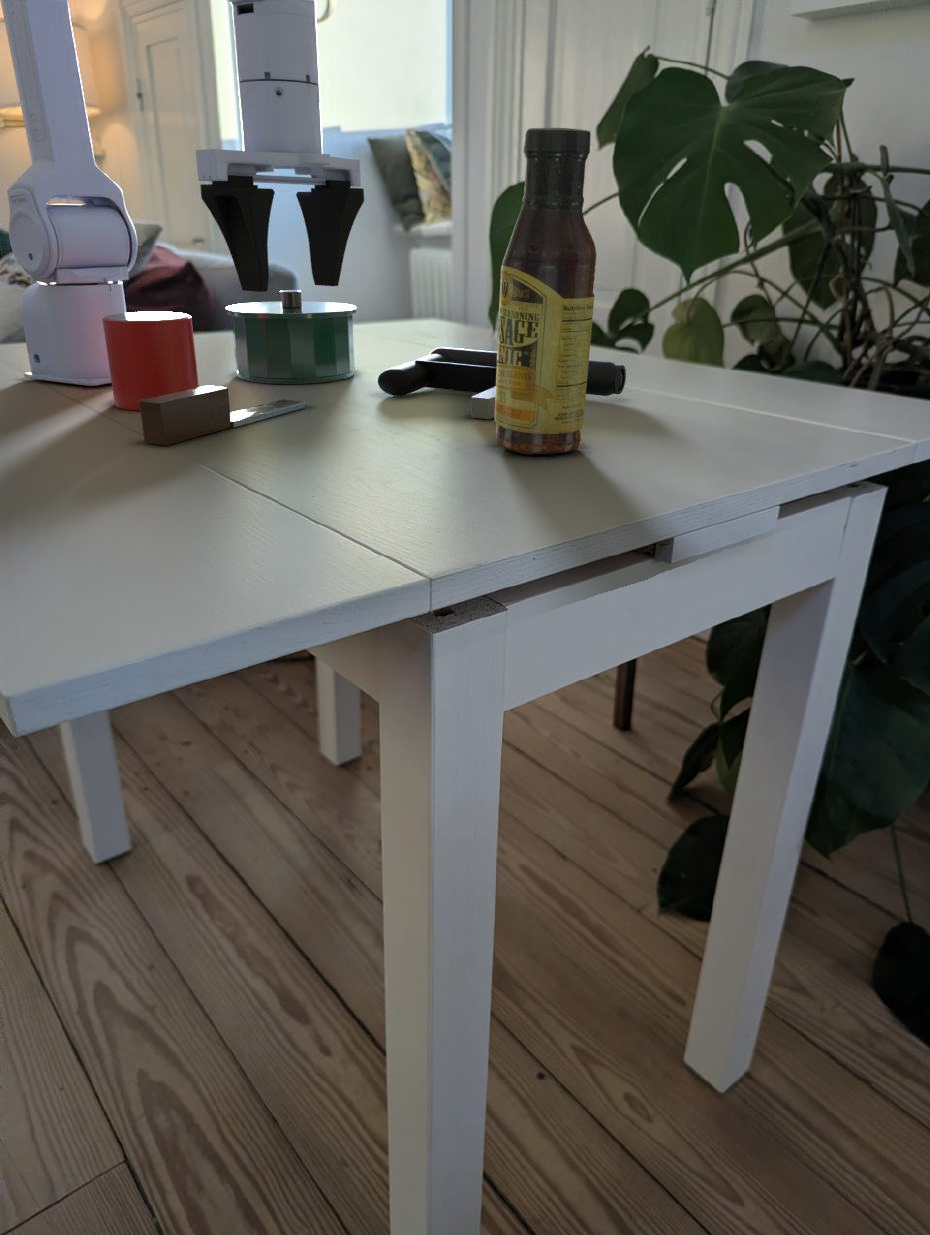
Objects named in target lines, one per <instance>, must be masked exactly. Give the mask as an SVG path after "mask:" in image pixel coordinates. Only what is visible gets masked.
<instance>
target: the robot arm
mask: <svg viewBox="0 0 930 1235" xmlns="http://www.w3.org/2000/svg"><path fill="white" fill-rule="evenodd" d="M68 2H69V1H68V0H0V5H1V10H2V15H3V21H4V25H5V31H6V36H7V41H8V46H9V47H8V48H9V51H10V57H11V62H12V68H13V72H14V77H15V82H16V89H17V92H18V97H19V103H20V108H21V109H20V110H21V113H22V119H23V124H24V129H25V135H26V138H27V139H26V140H27V145H28V149H29V154H30V159H31V165H30V166H28V168H26V170H25V171H24V172H23V173H22V174H21V175H20V176H19V177H18V178H17V179H15V181H14V182H12V183H11V185H10V186H9V187H8V189H7V190H6V194H7V198H8V204H9V206H8V207H9V223H8V238H9V244H10V247H11V250H12V253H13V256H14V258H15V259H16V261H17V262H18V264H19V266H20V267H21V268H22V269H23V270H24V272H25V273H27V275H29V276H30V279H31V282H34V283H32V284H31V285H29V286H28V287H27V288H26V289H25V291H24V293H23V294H22V297H21V301H20V317H21V318H20V319H21V322H22V328H23V332H24V333H23V334H24V339H25V345H26V350H27V356H28V361H29V367H30V372H25V373H23V377H24V378H25V379H30V380H39V381H40V380H41V381H47V382H55V383H62V384H71V385H79V386H87V387H96V386H97V387H98V386H101V385H108V384H112V381H111V375H110V368H109V361H108V354H107V347H106V340H105V333H104V327H103V320H102V319H103V318H104V317H105V316H108V315H112V314H120V313H127V306H126V299H125V292H124V284H123V281H128V280H130V276H129V272H130V271H132V269H133V268H134V266H135V263H136V260H137V256H138V246H139V245H138V237H137V236H138V235H137V232H136V229H135V226H134V223H133V222H132V219H131V218H130V215H129V214H128V210H127V208H126V204H125V198H124V191H123V189H122V188H121V187H120V186H119V185H118V184H117V183H116V182H115V181H113V179H112V178H110V177H109V176H108V175H107V174H106V173H105V172H103V170H102V169H101V168H99V166H98V165H97V164H96V161H95V155H94V149H93V143H92V142H93V141H92V136H91V131H90V126H89V125H90V124H89V119H88V113H87V107H86V102H85V95H84V90H83V83H82V78H81V72H80V66H79V60H78V56H77V55H78V54H77V50H76V42H75V38H74V31H73V26H72V21H71V13H70V8H69V3H68ZM227 2H228V3H229V4H230V5H231V11H232V22H233V33H234V47H235V60H236V72H237V73H236V74H237V83H238V84H237V86H238V87H237V88H238V97H239V111H240V123H241V134H242V135H241V136H242V150H236V149H220V148H219V149H218V148H209V149H208V148H205V149H195V159H196V160H195V161H196V169H197V178H198V182H211V183H207V184H206V183H203V184H199V187H200V197H201V200H202V201H203V203H204V204H205V206H206V207H207V209H208V211H209V213H210V214H211V216H212V217H213V219H214V221H215V223H216V225H217V226H218V228H219V230H220V232H221V234H222V237H223V238H224V241H225V243H226V245H227V249H228V251H229V254H230V256H231V258H232V262H233V264H234V268H235V271H236V275H237V277H238V280H239V283H240V287H241V290H242V291H244V292H254V293H255V292H256V293H263V292H264V293H265V292H268V288H269V280H270V279H269V278H270V277H269V276H270V274H269V273H270V272H269V269H270V268H269V249H268V248H269V246H268V243H269V227H270V219H271V212H272V206H273V202H274V198H275V194H276V192H275V190H274V189H273V188H266V187H265V188H263V187H259V185H258V184H259V183H260V184H279V185H281V184H282V185H301V186H302V185H306V186H314V187H311V188H310V191H297V192H296V194H295V197H296V199H297V202H298V205H299V207H300V210H301V214H302V217H303V221H304V225H305V229H306V233H307V240H308V247H309V248H308V249H309V258H310V260H309V261H310V268H311V275H312V279H313V283H314V286H321V287H323V286H324V287H339V283H340V279H341V273H342V268H343V262H344V258H345V252H346V248H347V244H348V240H349V237H350V234H351V230H352V228H353V225H354V223H355V221H356V218H357V216H358V214H359V212H360V209H361V208H362V206H363V204H364V202H365V189H364V188H362V187H361V186H362V184H361V182H362V181H361V160H360V159H356V158H355V159H353V158H346V157H345V158H344V157H339V156H332V155H331V154H329V153H324V152H323V132H322V131H323V129H322V111H321V110H322V108H321V91H320V90H321V89H320V88H321V87H320V85H321V84H320V67H319V66H320V65H319V46H318V43H319V42H318V26H317V25H318V24H317V6H316V5H317V2H316V0H227ZM275 170H294V175H296V176H291V175H288V176H287V175H285V176H284V175H271V174H270V175H267V174H258V173H274V172H275ZM306 176H307V177H306ZM309 176H310V177H309ZM254 183H256V184H254ZM51 200H70V201H71V200H73V201H75V200H76V201H79V202H81V203H82V204H81V203H80V204H78V203H77V204H76V203H49V202H50V201H51Z"/></svg>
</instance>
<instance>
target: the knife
mask: <svg viewBox="0 0 930 1235" xmlns="http://www.w3.org/2000/svg"><path fill="white" fill-rule="evenodd" d="M229 394H230V393H229V388H228V387H224V386H215V385H204V386H199V388H194V389H190V390H185V391H180V392H176V393H171V394H166V395H162V396H157V397H153V398H148V399H143V400H140V401H139V404H140V417H141V418H140V419H141V426H142V433H143V439H144V440H143V441H144V444H149V445H150V444H151V445H157V446H164V447H166V446H171V445H173V444H177V443H181V442H183V441H184V442H185V441H188V440H191V439H195V438H199V437H203V436H206V435H209V434H213V433H217V432H221V431H224V430H227V429H231V428H238V427H241V426H245V425H249V424H253V423H256V422H259V421H260V422H261V421H263V420H266V419H270V418H274V417H277V416H281V415H284V414H288V413H293V412H295V411H299V410H302V409H303V410H304V409H305V408H306V402H305V401H299V400H291V399H278V400H274V401H270V402H267V403H263V404H259V405H256V406H255V405H254V406H251V407H248V408H244V409H240V410H236V411H231V405H230V396H229Z"/></svg>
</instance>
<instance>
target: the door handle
mask: <svg viewBox="0 0 930 1235" xmlns="http://www.w3.org/2000/svg"><path fill="white" fill-rule="evenodd" d="M626 370H627V369H626V366H625V365H624V364H617V363H615V362H613V361H608V360H607V361H606V360H596V359H589V364H588V375H587V387H586V395H591V396H601V397H609V396H612V395H621V394H622V392H623V391H624V389H625V386H626V380H627V371H626ZM496 375H497V351H492V350H491V351H490V350H480V349H479V350H478V349H467V348H457V347H446V346H445V347H444V346H440V347H435V348H433V350H431V351H430V352H429V353H428V355H426V356H423V357H420V358H417V359H414V360H412V361H411V360H410V361H409V362H405V363H402V364H400V365H396V366H394V367H391V368H387V369H385V370H383V371H381V373H380V374H379V375H378V377H377V385H378V387H379V389H380V390H381V391H382V392H384V393H385V394H387V395H390V396H394V397H402V396H406V395H410V394H411V393H414V392H417V391H420V390H422V389H424V388H429V389H438V390H447V391H448V390H449V391H455V392H465V393H466V392H467V393H476V394H475V395H472V396H471V397H470V398H471V399H470V400H471V418H476V419H481V420H482V419H484V420H491V419H494V418H495V395H496Z"/></svg>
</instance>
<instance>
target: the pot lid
mask: <svg viewBox="0 0 930 1235" xmlns="http://www.w3.org/2000/svg"><path fill="white" fill-rule="evenodd" d="M279 292H280V301H260V302H259V301H258V302H245V303H237V304H232V305H228V306H226V307H225V312H226V314H227V315H229V316H231V315H232V316H237V317H246V318H261V319H313V318H330V317H340V316H347V315H352V316H353V315H354V314H356V313H357V306H356V305H353V304H348V303H343V302H330V301H307V300H306V301H305V300H304V301H303V299H302V291H301V290H300V289H299V290H298V289H296V290H295V289H285V290H283V289H282V290H280V291H279Z"/></svg>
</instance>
